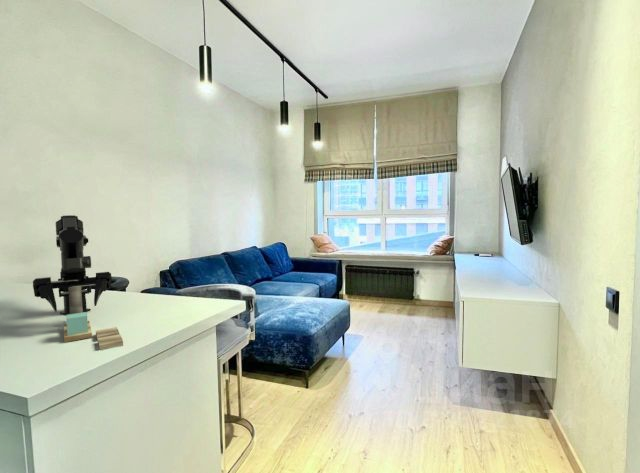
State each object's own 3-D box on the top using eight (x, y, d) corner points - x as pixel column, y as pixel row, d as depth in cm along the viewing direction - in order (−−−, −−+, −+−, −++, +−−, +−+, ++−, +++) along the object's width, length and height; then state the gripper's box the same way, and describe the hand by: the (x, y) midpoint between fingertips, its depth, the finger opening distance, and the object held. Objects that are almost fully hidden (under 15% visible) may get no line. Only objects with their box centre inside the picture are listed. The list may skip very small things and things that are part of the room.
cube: (67, 331, 96) (66, 314, 95) (87, 327, 98) (86, 312, 98) (67, 335, 92) (66, 318, 92) (88, 332, 95) (87, 315, 94)
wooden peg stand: (64, 328, 102) (61, 286, 101) (89, 324, 105) (86, 284, 104) (64, 342, 91) (61, 295, 90) (92, 337, 94) (89, 292, 93)
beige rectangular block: (95, 334, 96) (95, 330, 96) (116, 331, 99) (116, 326, 99) (99, 350, 85) (99, 345, 85) (123, 345, 88) (123, 340, 88)
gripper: (31, 249, 98) (30, 296, 89) (109, 245, 108) (115, 286, 100) (35, 274, 104) (34, 319, 96) (108, 267, 115) (113, 308, 107)
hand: (76, 307), depth 100 cm, fingers open, 9 cm apart
